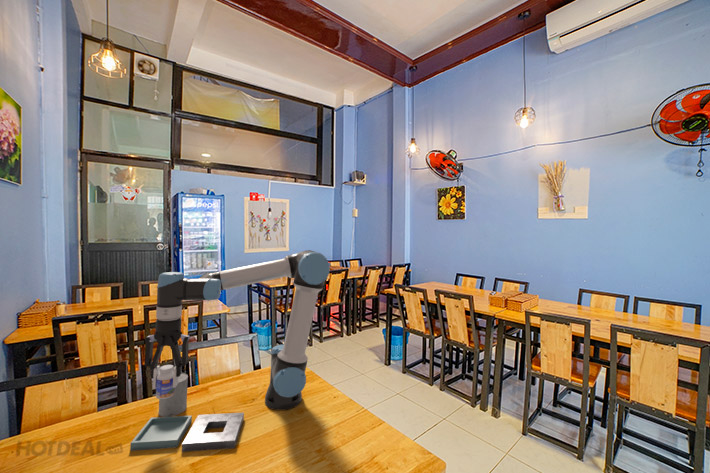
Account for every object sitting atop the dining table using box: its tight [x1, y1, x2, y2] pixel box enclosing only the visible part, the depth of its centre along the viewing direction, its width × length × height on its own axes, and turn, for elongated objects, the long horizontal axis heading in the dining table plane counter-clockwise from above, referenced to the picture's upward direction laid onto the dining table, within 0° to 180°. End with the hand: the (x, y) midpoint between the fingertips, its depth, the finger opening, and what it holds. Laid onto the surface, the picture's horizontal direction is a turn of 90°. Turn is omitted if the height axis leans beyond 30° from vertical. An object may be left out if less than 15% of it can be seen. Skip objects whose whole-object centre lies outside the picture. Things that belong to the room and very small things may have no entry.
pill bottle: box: [155, 364, 175, 400], centre depth 105 cm, size 5×5×10 cm
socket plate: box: [181, 412, 245, 453], centre depth 107 cm, size 16×16×2 cm
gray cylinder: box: [158, 372, 189, 417], centre depth 121 cm, size 10×10×12 cm
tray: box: [129, 415, 193, 452], centre depth 105 cm, size 14×14×2 cm
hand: (165, 385), depth 105 cm, fingers closed on pill bottle, 5 cm apart
